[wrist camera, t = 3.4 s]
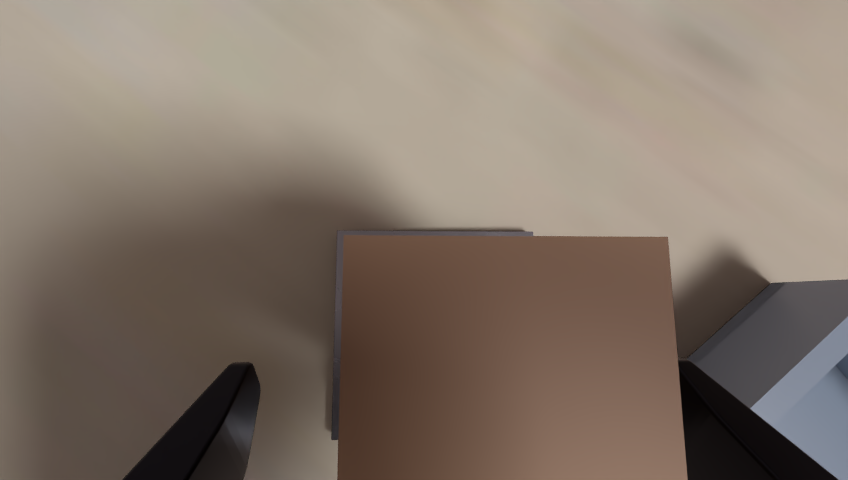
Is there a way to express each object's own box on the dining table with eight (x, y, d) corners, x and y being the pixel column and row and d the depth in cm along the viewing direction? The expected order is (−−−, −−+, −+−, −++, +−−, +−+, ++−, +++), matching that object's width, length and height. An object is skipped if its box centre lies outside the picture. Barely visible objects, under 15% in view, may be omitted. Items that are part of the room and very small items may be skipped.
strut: (490, 386, 17) (706, 602, 5) (382, 386, 16) (324, 615, 5) (488, 278, 17) (674, 228, 5) (383, 277, 17) (335, 226, 5)
